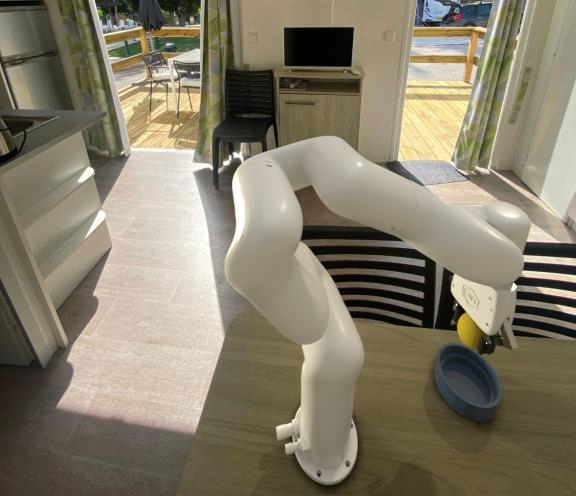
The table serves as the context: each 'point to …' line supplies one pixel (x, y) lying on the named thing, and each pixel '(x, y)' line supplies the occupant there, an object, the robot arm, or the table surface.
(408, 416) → the table surface
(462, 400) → the bowl
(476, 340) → the lemon
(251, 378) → the table surface
